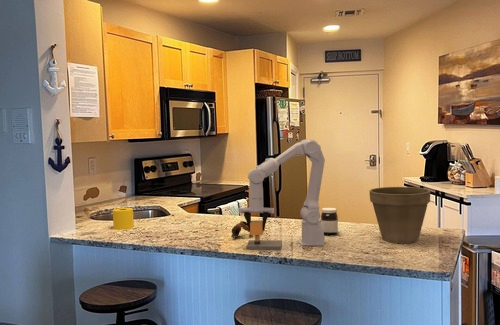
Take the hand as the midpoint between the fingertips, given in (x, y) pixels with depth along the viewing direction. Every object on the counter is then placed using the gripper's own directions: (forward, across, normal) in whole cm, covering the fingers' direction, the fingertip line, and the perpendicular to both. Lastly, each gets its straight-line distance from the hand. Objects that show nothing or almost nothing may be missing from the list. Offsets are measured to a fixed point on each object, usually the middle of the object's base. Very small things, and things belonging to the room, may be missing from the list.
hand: (256, 230), depth 190 cm
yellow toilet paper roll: (+7, +73, -35) cm, 81 cm away
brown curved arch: (+7, +9, -16) cm, 20 cm away
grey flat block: (+7, -3, 0) cm, 8 cm away
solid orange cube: (+1, 0, 0) cm, 1 cm away
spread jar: (+7, -29, -25) cm, 39 cm away
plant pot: (+7, -60, -14) cm, 62 cm away
